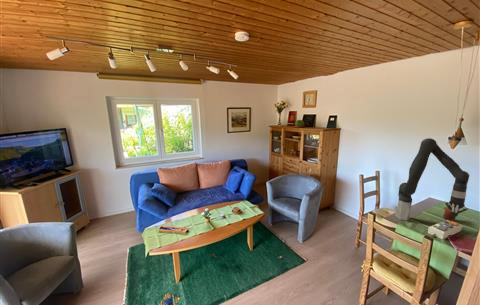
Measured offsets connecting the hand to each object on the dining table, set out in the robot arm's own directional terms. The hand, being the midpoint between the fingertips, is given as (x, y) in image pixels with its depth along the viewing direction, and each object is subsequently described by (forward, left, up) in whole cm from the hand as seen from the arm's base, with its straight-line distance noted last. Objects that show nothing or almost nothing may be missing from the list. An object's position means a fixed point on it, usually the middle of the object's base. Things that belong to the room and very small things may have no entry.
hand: (454, 216), depth 155 cm
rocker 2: (-6, -3, -6) cm, 9 cm away
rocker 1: (-14, -6, -6) cm, 16 cm away
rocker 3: (+2, +1, -6) cm, 7 cm away
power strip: (-8, -2, -13) cm, 16 cm away
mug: (+16, +18, -13) cm, 27 cm away
